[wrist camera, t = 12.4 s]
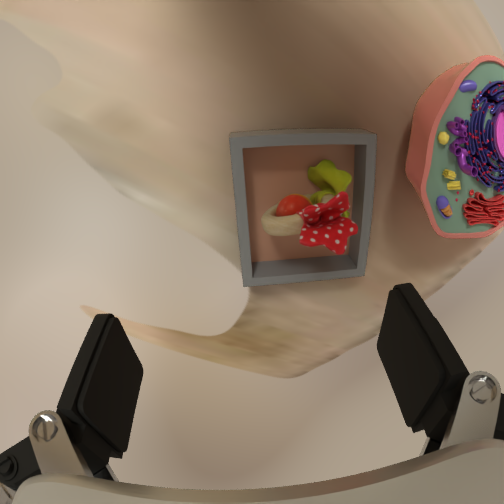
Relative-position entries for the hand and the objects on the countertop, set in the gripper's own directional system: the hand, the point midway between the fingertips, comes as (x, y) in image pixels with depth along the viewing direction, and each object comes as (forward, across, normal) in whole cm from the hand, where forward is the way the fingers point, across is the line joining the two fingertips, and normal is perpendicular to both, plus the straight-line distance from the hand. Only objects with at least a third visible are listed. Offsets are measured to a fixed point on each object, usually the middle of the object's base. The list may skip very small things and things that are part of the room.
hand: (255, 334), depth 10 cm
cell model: (+22, -23, -2) cm, 32 cm away
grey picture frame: (+22, -5, +4) cm, 23 cm away
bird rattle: (+22, -6, +4) cm, 23 cm away
